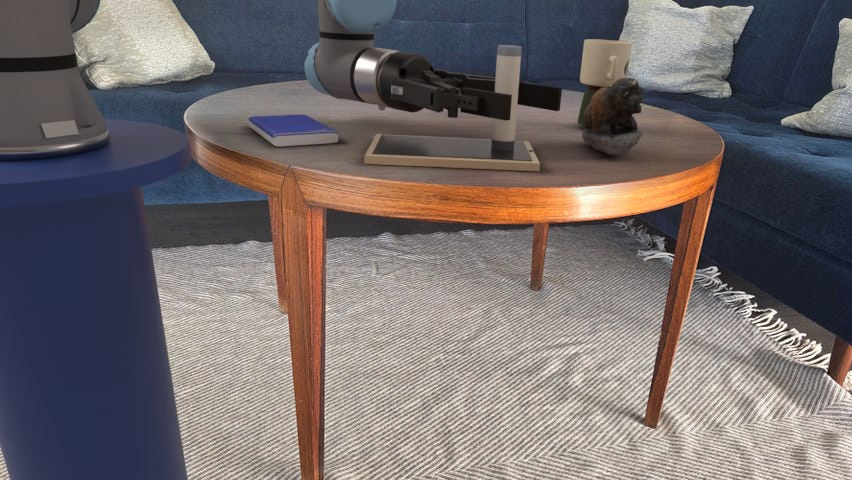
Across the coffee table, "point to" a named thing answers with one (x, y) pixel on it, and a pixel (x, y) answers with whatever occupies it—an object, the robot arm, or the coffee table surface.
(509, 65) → the stylus
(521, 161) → the tablet
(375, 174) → the coffee table surface
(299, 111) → the coffee table surface
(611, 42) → the character mug
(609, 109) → the bison figurine
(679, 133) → the coffee table surface
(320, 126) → the blue book
